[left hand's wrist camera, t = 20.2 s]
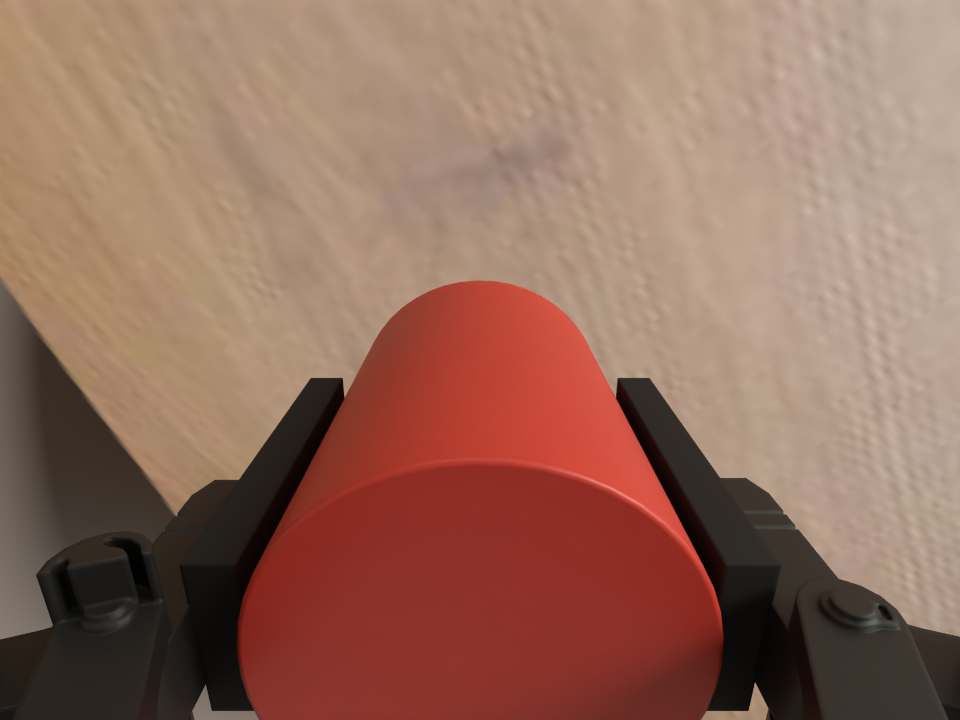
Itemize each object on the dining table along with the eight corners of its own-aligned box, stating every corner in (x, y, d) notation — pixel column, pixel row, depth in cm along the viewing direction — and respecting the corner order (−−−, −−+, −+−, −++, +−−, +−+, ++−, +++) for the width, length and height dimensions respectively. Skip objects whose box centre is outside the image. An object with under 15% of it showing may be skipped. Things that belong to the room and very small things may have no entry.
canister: (484, 531, 18) (488, 883, 9) (315, 398, 16) (137, 679, 8) (646, 390, 16) (826, 664, 8) (475, 227, 15) (467, 347, 6)
